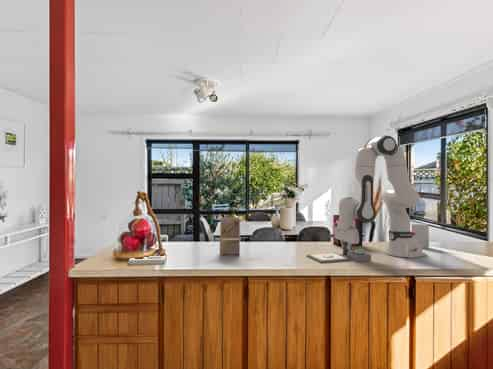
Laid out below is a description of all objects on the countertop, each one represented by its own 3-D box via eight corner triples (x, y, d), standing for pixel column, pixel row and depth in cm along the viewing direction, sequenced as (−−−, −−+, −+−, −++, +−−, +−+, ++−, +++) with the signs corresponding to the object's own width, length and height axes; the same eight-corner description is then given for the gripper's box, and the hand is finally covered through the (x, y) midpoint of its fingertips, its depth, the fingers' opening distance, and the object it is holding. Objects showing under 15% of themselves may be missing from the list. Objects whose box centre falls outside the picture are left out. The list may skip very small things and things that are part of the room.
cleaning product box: (338, 246, 226) (338, 216, 225) (333, 244, 235) (333, 214, 234) (362, 246, 228) (362, 216, 228) (356, 243, 237) (356, 214, 236)
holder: (143, 247, 221) (143, 243, 221) (172, 247, 223) (172, 243, 223) (128, 265, 176) (128, 260, 176) (164, 264, 178) (164, 259, 178)
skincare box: (429, 247, 223) (429, 223, 223) (423, 249, 220) (424, 224, 219) (416, 245, 230) (417, 222, 230) (411, 246, 227) (411, 223, 226)
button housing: (360, 257, 195) (360, 251, 195) (370, 261, 187) (371, 254, 186) (346, 258, 192) (346, 252, 192) (356, 262, 184) (356, 255, 184)
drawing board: (334, 254, 202) (334, 252, 202) (350, 260, 187) (350, 258, 187) (306, 256, 196) (306, 254, 196) (321, 263, 181) (321, 260, 181)
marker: (346, 254, 203) (347, 237, 203) (350, 255, 200) (350, 238, 199) (341, 254, 202) (341, 237, 202) (345, 255, 199) (345, 238, 198)
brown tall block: (219, 254, 202) (219, 211, 202) (239, 254, 203) (239, 211, 203) (219, 257, 195) (219, 212, 194) (240, 257, 196) (240, 212, 195)
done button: (359, 253, 192) (359, 248, 192) (365, 255, 188) (365, 250, 188) (352, 254, 191) (352, 249, 191) (357, 256, 186) (357, 250, 186)
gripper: (362, 227, 192) (361, 252, 192) (341, 222, 211) (341, 245, 211) (352, 227, 190) (352, 252, 190) (332, 223, 209) (332, 245, 209)
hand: (346, 248), depth 201 cm, fingers closed on marker, 3 cm apart
